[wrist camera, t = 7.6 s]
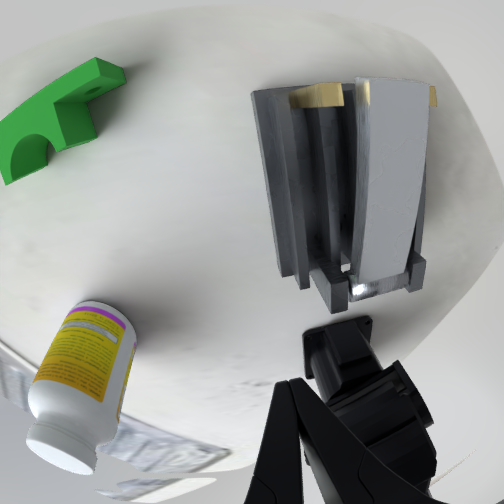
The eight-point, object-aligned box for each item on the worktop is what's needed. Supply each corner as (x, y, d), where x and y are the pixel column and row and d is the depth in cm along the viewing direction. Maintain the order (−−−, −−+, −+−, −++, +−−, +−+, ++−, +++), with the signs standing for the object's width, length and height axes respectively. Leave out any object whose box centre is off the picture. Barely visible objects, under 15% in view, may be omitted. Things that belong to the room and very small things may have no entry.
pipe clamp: (17, 185, 16) (-19, 205, 12) (3, 142, 14) (-36, 154, 10) (139, 119, 16) (113, 121, 12) (123, 67, 14) (94, 56, 10)
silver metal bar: (391, 274, 17) (404, 293, 16) (341, 287, 17) (351, 308, 16) (413, 79, 10) (438, 86, 8) (344, 76, 10) (366, 81, 8)
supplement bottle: (57, 301, 21) (-8, 421, 9) (121, 293, 21) (68, 440, 9) (89, 356, 24) (52, 471, 12) (149, 353, 24) (127, 486, 12)
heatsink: (398, 241, 21) (448, 286, 15) (278, 266, 21) (300, 329, 15) (394, 85, 16) (460, 84, 10) (250, 93, 16) (268, 80, 10)
